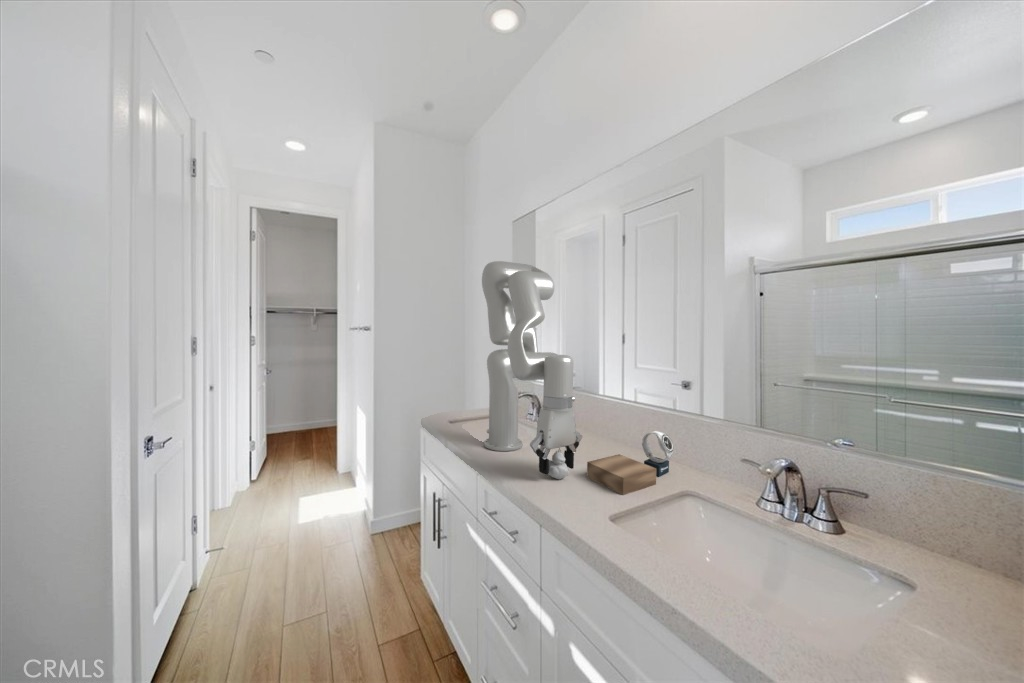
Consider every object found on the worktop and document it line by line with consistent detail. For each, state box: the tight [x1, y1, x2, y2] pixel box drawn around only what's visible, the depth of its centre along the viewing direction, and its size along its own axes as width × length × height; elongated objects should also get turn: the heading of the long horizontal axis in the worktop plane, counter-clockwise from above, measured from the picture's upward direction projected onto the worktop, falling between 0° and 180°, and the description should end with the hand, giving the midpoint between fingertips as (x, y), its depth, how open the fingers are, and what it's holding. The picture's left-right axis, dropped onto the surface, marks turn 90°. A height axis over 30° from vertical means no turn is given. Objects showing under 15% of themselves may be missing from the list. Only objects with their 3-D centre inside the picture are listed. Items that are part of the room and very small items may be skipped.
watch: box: [641, 430, 675, 478], centre depth 99 cm, size 6×8×11 cm
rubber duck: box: [548, 447, 569, 480], centre depth 95 cm, size 5×7×8 cm
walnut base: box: [586, 454, 657, 496], centre depth 93 cm, size 12×12×4 cm
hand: (556, 469), depth 95 cm, fingers open, 7 cm apart
